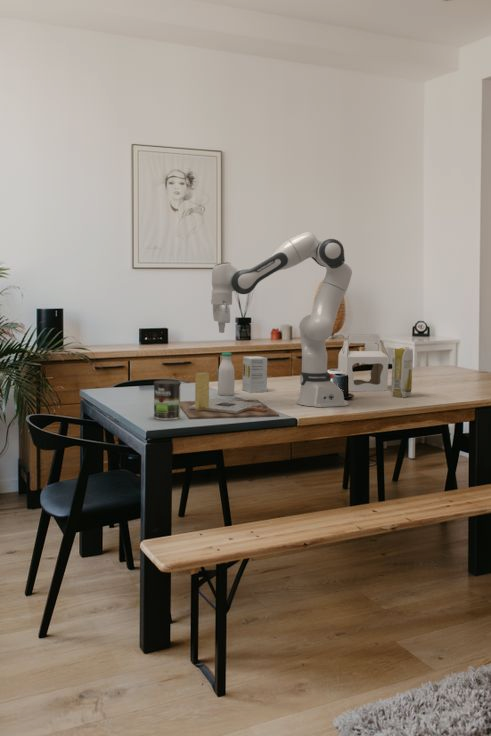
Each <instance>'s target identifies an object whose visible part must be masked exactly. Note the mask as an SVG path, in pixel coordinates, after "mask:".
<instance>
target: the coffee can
mask: <svg viewBox="0 0 491 736" xmlns="http://www.w3.org/2000/svg"><path fill="white" fill-rule="evenodd" d="M181 384H182V382H181V381H180V380H173V379H172V380H171V379H168V380H167V379H163V380H162V379H160V380H155V381H153V385H154V386H153V388H154V390H153V392H154V393H153V394H154V395H153V399H154V400H153V418H154V419H155V420H159V421H174V420H175V419H176V420H179V419H181V408H180V401H181Z"/></svg>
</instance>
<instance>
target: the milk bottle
mask: <svg viewBox="0 0 491 736" xmlns="http://www.w3.org/2000/svg"><path fill="white" fill-rule="evenodd" d="M217 371H218V373H217V374H218V375H217V377H218V378H217V394H218V395H219V396H225V397H226V396H234V395H235V367H234V364H233V361H232V352H229V351H228V352H227V351H226V352H222V353H221V362H220V364H219V367H218V370H217Z"/></svg>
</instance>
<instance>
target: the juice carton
mask: <svg viewBox="0 0 491 736" xmlns="http://www.w3.org/2000/svg"><path fill="white" fill-rule="evenodd" d="M392 351H393V352H392V359H391V361H392V363H391V364H392V365H391V366H392V367H391V385H390V386H391V387H390V390H391V391H390V392H391V393H390V394H391V397H393V396H395V397H394V398H402V397H404V398H407V396H408V397H410V396H412V395H411V394H412V388H413V387H412V384H413V363H414V352H413V351H414V350H413V348H410V347H409V346H407V345H406V346H404V345H403V347H399V348H393V350H392Z"/></svg>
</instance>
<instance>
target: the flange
mask: <svg viewBox="0 0 491 736" xmlns="http://www.w3.org/2000/svg"><path fill="white" fill-rule="evenodd" d="M194 377H195V379H194V381H195V390H194V391H195V395H194V396H195V397H194V398H195V400H194V401H195V405H192V406H189V409H195V410H197V411H202V410H208V411H217V412H226V413H235V414H238V413H241V412H244V411H246V410H254V411H263V412H264V411H266V408H259V407H258V406H261V403H254V402H244V401H234V400H233V399H232V400H231V399H222V398H214V399H210V372H195V376H194ZM224 402H228V403H230V405H229V406H230V407H228V406H221V405H222V403H224Z"/></svg>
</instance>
